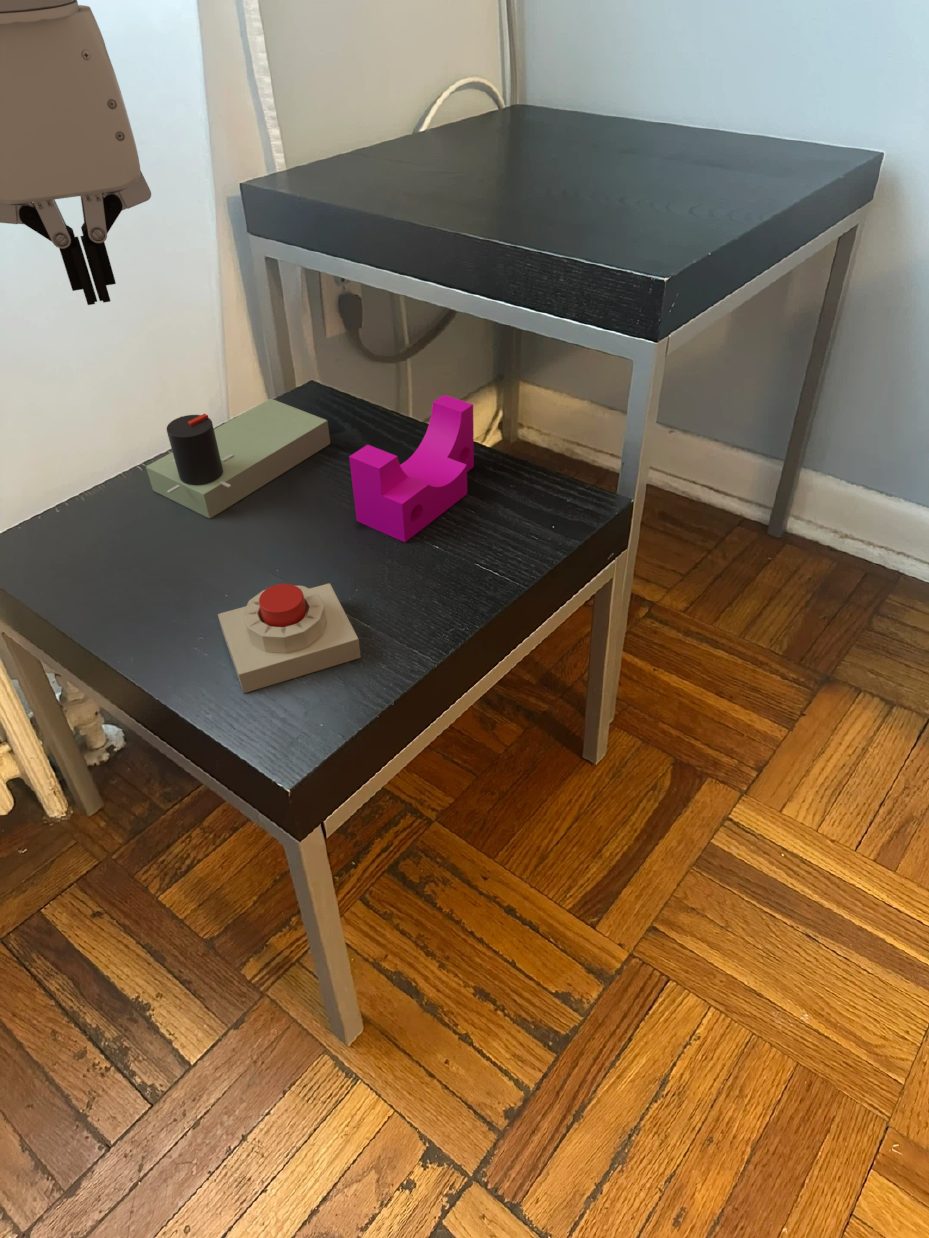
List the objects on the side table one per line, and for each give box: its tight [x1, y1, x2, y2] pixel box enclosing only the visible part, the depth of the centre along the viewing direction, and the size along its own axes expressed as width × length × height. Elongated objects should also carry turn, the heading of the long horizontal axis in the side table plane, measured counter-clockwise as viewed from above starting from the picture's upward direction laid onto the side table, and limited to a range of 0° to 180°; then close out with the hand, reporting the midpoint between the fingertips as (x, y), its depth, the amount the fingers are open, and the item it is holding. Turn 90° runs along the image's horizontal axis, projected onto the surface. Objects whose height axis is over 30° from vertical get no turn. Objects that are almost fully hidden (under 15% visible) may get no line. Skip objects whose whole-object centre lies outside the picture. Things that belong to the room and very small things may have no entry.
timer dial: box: [166, 413, 223, 485], centre depth 88 cm, size 4×4×6 cm
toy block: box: [348, 394, 475, 543], centre depth 89 cm, size 15×6×8 cm, turn 144°
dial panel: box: [145, 398, 331, 519], centre depth 95 cm, size 20×10×3 cm, turn 144°
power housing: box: [217, 582, 362, 694], centre depth 74 cm, size 10×8×4 cm
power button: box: [259, 583, 306, 627], centre depth 72 cm, size 4×4×2 cm
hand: (97, 296), depth 63 cm, fingers closed
